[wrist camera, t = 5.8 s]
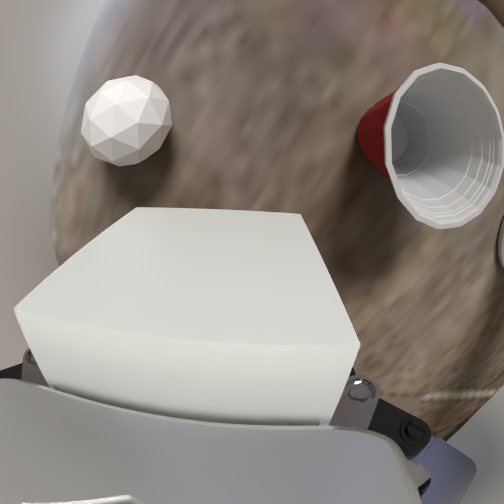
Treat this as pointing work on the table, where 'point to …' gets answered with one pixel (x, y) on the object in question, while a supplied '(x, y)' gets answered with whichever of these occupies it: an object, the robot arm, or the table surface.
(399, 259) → the table surface
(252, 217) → the white angular block
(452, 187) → the plastic cup
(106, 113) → the geometric ball
